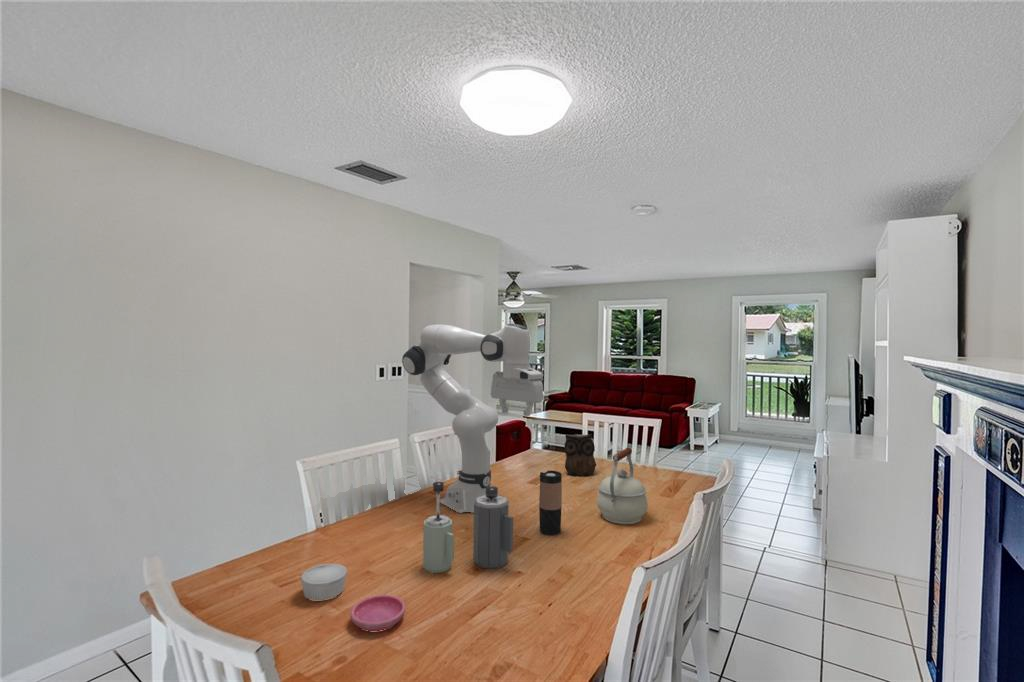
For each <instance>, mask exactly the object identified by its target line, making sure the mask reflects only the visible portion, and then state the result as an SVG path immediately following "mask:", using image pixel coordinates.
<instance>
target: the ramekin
mask: <svg viewBox="0 0 1024 682" xmlns="http://www.w3.org/2000/svg"><path fill="white" fill-rule="evenodd" d="M347 575H348V569H347V567H345V566H344V565H342V564H339V563H327V564H326V563H324V564H318V565H315V566H312V567H310V568H308V569H307V570H305V571H304V572H303V573H302V575H301V576H300V582H301V583H302V593H303V596H304V598H306V599H307V598H308V599H313V600H325V599H328V598H329V599H330V598H332V597H335V596H337V595H339V594H340V593H341V594H342V592H343V591H344V588H345V583H346V578H347ZM341 594H340V595H341ZM340 595H339V596H340ZM337 597H338V596H337ZM335 598H336V597H335ZM308 599H307V600H308Z"/></svg>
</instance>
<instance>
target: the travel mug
mask: <svg viewBox="0 0 1024 682" xmlns="http://www.w3.org/2000/svg"><path fill="white" fill-rule="evenodd" d="M562 476H563V475H562V472H560V471H557V470H547V471H545V472H543V471H540V473H539V495H538V496H539V498H538V499H539V501H538V502H539V504H538V507H539V509H538V510H539V516H538V517H539V518H538V519H539V532H540V533H541V534H543V535H545V536H557V535H559V534H560V533H561V528H562V524H561V523H562V507H563V506H562V502H563V501H562V499H563V497H562V496H563V495H562V485H563V484H562V483H563V481H562Z"/></svg>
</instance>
